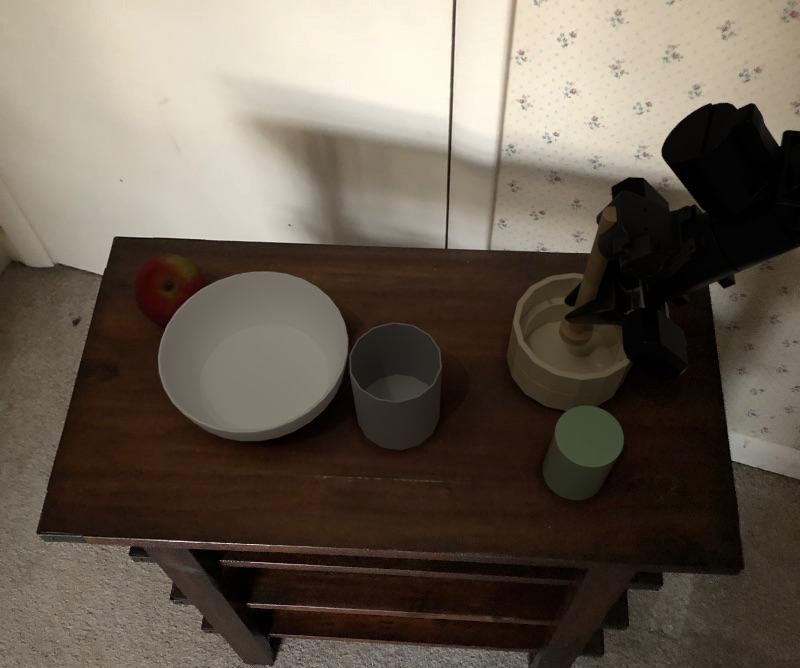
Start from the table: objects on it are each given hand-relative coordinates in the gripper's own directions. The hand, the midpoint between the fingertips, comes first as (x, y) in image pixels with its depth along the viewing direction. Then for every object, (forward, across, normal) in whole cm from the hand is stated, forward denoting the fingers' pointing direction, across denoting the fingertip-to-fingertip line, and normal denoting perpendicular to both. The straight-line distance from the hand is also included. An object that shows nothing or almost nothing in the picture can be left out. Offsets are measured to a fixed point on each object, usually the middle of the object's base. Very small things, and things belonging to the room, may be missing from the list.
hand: (567, 311), depth 72 cm
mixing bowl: (+5, 0, +7) cm, 9 cm away
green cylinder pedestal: (+5, +12, +8) cm, 15 cm away
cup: (+18, +7, -5) cm, 20 cm away
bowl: (+27, +5, -14) cm, 31 cm away
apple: (+35, -4, -22) cm, 42 cm away
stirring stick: (+2, 0, +4) cm, 4 cm away
